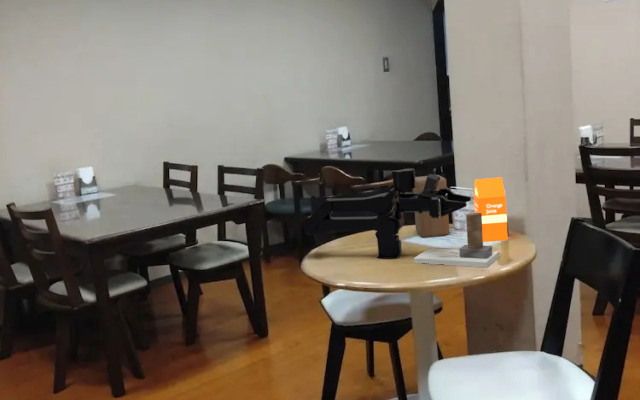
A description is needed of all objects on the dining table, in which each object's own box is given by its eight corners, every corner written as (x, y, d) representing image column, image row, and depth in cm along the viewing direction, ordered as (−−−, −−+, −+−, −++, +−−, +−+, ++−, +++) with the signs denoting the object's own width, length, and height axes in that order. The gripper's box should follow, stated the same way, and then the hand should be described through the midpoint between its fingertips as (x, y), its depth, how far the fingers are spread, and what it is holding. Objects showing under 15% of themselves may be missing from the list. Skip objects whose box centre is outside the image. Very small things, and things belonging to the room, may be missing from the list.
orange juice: (475, 237, 224) (472, 178, 221) (502, 234, 223) (499, 175, 220) (480, 242, 216) (477, 181, 213) (508, 240, 216) (505, 178, 212)
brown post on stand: (459, 257, 194) (457, 215, 192) (465, 252, 199) (463, 211, 197) (486, 258, 190) (484, 215, 188) (492, 254, 194) (490, 212, 192)
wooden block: (415, 232, 239) (411, 177, 236) (443, 229, 240) (439, 174, 236) (421, 238, 229) (417, 180, 226) (450, 235, 230) (446, 177, 227)
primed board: (414, 263, 199) (413, 257, 198) (429, 252, 209) (429, 248, 208) (486, 267, 187) (486, 262, 187) (499, 256, 197) (499, 251, 197)
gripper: (408, 181, 194) (462, 179, 188) (421, 171, 211) (471, 170, 205) (410, 218, 195) (464, 218, 190) (423, 206, 213) (473, 205, 207)
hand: (468, 201), depth 198 cm, fingers open, 9 cm apart
